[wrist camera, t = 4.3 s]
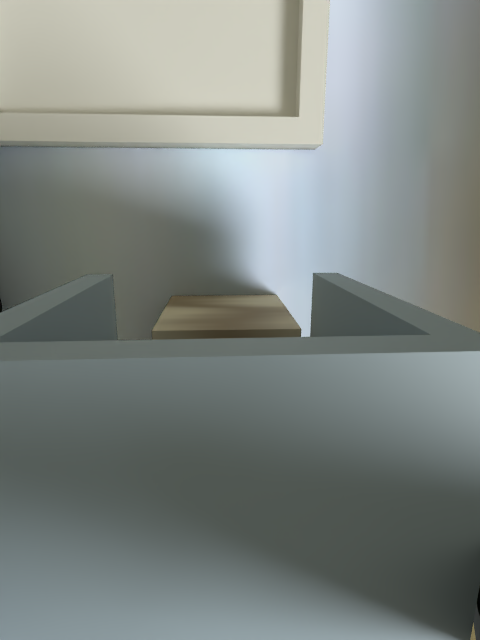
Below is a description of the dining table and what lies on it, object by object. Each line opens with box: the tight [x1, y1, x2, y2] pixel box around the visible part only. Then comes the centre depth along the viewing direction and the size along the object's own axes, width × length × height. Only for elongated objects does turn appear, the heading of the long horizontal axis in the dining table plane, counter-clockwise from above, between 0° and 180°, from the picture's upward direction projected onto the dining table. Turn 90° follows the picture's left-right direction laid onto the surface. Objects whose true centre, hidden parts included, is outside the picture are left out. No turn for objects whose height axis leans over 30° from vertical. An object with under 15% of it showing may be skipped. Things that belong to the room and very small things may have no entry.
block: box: [152, 295, 301, 340], centre depth 17 cm, size 5×5×6 cm
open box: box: [0, 273, 480, 640], centre depth 11 cm, size 9×9×9 cm
